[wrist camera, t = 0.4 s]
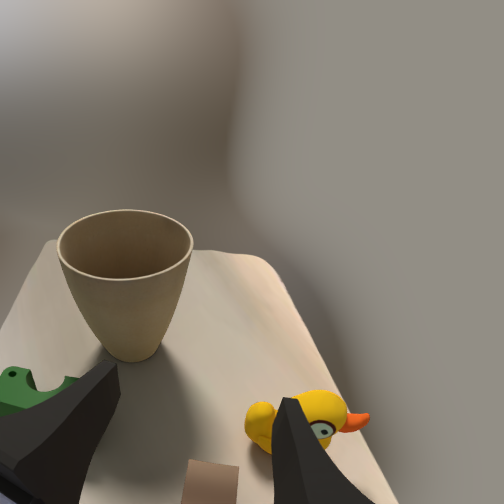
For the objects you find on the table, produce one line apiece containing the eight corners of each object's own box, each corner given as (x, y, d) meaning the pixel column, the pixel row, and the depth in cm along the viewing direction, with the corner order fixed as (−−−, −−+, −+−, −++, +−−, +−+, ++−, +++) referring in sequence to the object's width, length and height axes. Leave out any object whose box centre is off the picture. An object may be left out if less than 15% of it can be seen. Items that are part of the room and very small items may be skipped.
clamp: (91, 431, 28) (108, 386, 26) (85, 468, 22) (100, 427, 21) (6, 389, 23) (10, 336, 22) (-11, 421, 18) (-14, 369, 17)
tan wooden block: (223, 537, 17) (233, 531, 14) (179, 530, 17) (177, 523, 14) (228, 486, 23) (239, 466, 19) (187, 480, 22) (189, 458, 19)
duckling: (337, 435, 30) (376, 388, 25) (333, 473, 25) (378, 433, 20) (245, 413, 31) (264, 361, 26) (233, 451, 26) (250, 406, 22)
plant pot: (91, 303, 41) (81, 206, 34) (184, 310, 45) (193, 214, 37) (68, 379, 29) (33, 270, 21) (186, 391, 32) (194, 284, 25)
